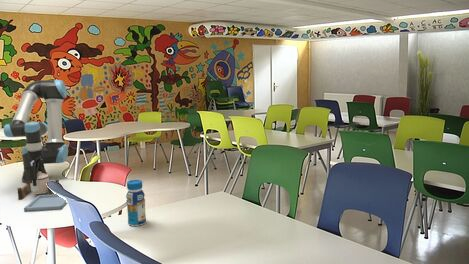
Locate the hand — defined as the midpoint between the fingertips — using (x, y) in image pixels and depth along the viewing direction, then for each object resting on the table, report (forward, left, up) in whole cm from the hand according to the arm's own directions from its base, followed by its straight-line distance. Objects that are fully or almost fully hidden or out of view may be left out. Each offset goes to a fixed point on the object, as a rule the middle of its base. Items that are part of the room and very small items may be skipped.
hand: (39, 188), depth 226 cm
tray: (+17, +11, -4) cm, 21 cm away
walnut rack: (0, 0, -4) cm, 4 cm away
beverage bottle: (+51, +61, -4) cm, 80 cm away
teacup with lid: (-1, 0, -2) cm, 2 cm away
